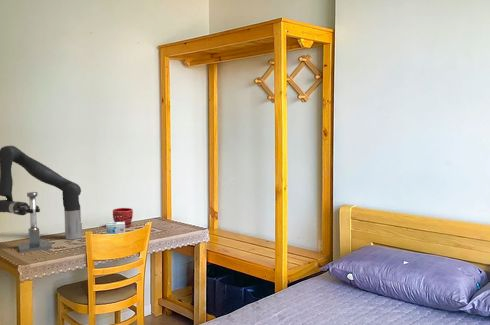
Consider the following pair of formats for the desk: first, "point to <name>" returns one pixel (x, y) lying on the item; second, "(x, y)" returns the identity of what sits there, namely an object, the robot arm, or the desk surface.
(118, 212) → the plant pot
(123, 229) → the light bulb box
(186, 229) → the desk surface
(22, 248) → the stand
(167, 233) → the desk surface
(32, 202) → the jack column
